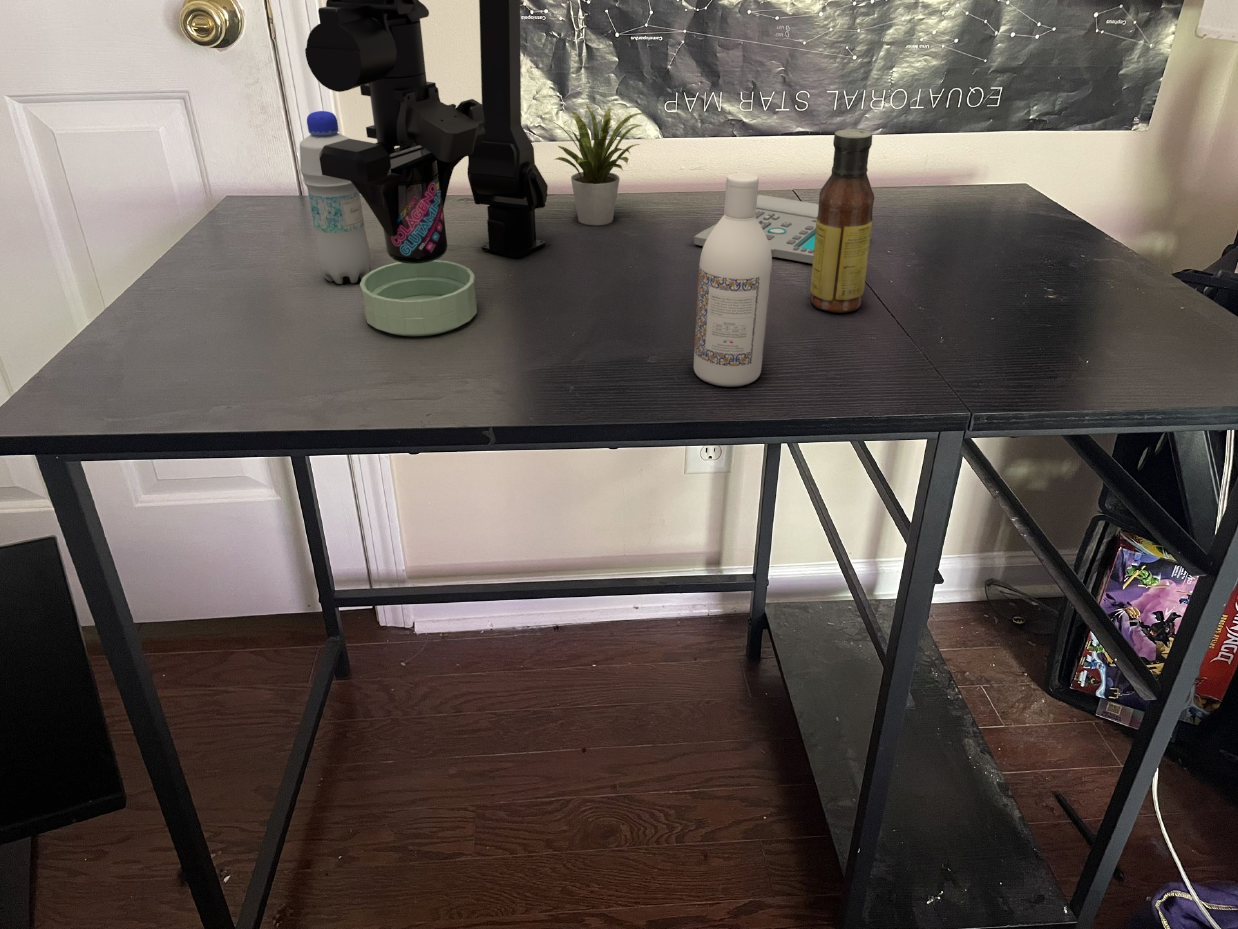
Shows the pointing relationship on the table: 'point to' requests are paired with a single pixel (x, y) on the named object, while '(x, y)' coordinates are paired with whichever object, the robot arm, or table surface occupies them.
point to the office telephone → (783, 227)
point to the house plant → (596, 169)
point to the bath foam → (733, 291)
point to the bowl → (419, 297)
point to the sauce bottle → (843, 226)
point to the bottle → (333, 206)
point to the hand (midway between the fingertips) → (414, 226)
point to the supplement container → (417, 210)
